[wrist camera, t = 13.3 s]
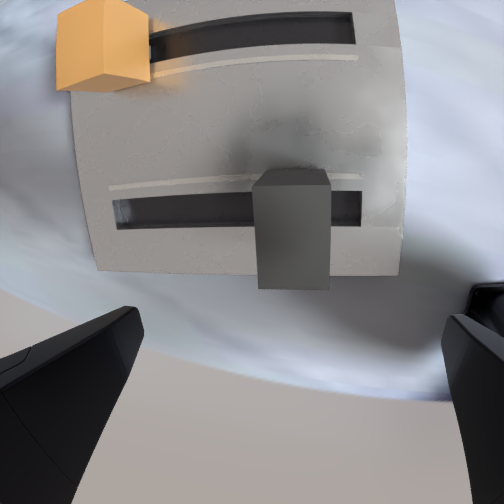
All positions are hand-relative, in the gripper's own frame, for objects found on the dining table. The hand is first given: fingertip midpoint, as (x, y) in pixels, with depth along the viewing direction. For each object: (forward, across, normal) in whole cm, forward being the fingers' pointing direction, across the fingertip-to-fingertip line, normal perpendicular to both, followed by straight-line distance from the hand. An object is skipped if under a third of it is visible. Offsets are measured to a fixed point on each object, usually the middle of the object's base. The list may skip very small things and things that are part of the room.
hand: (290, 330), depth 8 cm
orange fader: (+11, +9, -11) cm, 18 cm away
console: (+12, +4, -6) cm, 14 cm away
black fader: (+11, 0, -1) cm, 11 cm away
